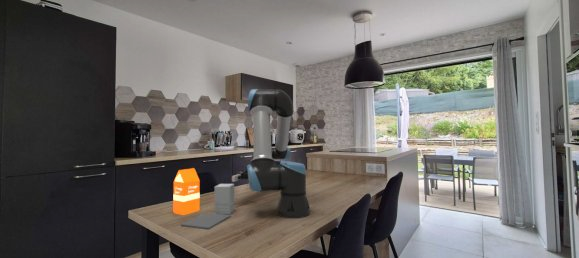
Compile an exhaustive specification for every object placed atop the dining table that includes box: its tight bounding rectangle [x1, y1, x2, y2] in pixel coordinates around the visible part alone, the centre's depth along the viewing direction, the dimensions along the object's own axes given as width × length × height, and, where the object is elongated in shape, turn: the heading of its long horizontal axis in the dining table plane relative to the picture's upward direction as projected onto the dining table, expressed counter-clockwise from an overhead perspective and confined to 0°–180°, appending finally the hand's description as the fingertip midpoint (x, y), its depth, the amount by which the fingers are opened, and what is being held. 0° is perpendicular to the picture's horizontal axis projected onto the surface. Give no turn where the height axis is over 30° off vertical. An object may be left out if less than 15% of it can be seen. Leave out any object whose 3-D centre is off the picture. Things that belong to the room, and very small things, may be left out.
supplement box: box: [213, 183, 235, 215], centre depth 116 cm, size 7×7×13 cm
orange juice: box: [172, 167, 201, 216], centre depth 117 cm, size 8×9×20 cm
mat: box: [180, 212, 232, 230], centre depth 103 cm, size 16×13×1 cm
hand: (233, 178), depth 124 cm, fingers closed
